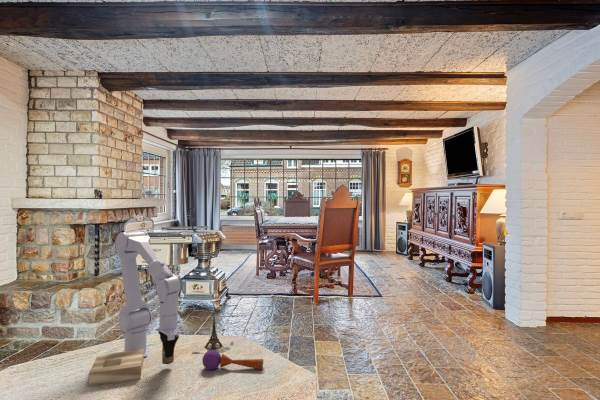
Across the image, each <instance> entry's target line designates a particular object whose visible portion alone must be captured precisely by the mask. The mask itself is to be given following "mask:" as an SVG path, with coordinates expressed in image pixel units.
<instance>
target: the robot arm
mask: <svg viewBox="0 0 600 400" xmlns="http://www.w3.org/2000/svg"><path fill="white" fill-rule="evenodd" d="M114 241H115V248H116V256H117V257H118V258H119V259H120V266H121V267H120V269H121V275H122V282H123V288H124V289H123V291H124V297H125V305H124V306H123V307H122V308H121V309H120V310H119V311H118V312H119V319H118V325H119V329H121V331H122V332H124V347H123V348H124V350H123V352H125V351H133V350H141V349H144V354H143V358H145V357H146V358H147V356H148V352H149V345H148V344H147V342H148V341H147V336H148V335H147V334H148V333H147V331H148V330H147V329H149V327H150V325H151V323H152V320H153V314H152V313H153V312H152V311H151V308H150V305H149V303H148V302H146V301H145V300H144V301H143V298H142V291H141V285H140V278H139V271H138V264H137V257H138V256H139V255H140V256H141V258H142V259H143V260H144V262H145V263H146V264H147V265H148V268H147V272H148V273H149V274H150V276H151V278H152V279H153V280H154V282H155V284H156V286H155V290H156V293H157V299H158V301H159V323H158V324H159V325H158V326H156V327H155V331H156V332H158V334H159V339H160V341H161V343H162V344H163V346H164V353H165V357H166V358H168V357H172V356H173V352H174V353H175V347H176V344H177V342H178V340H179V338H180V337H179V334H176V332H177V331H178V330H179V293H180V292H181V291H182V289H183V281H182V279H181V277H180V276H179V275H178V274H175V273H172V271H171V270H170V268H169V267H168V265H167V264H166V263H165V261H164V260H162V259H158V257H157V255H156V253H155V251H154V249H153V248H152V246H151V237H150V236H149V233H148V232H147V231H145V230H141V231H128V232H119V233H118V234H117V237H116V239H115V240H114Z"/></svg>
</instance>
